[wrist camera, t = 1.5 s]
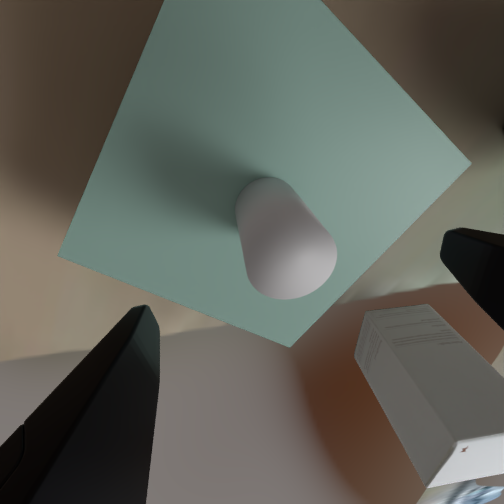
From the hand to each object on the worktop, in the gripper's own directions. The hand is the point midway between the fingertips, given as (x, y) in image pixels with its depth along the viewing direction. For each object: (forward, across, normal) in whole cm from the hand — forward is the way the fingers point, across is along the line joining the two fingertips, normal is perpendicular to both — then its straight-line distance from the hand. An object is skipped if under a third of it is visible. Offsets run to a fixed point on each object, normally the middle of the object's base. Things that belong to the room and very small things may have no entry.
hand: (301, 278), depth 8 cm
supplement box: (+13, -13, +21) cm, 28 cm away
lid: (+7, 0, 0) cm, 7 cm away
